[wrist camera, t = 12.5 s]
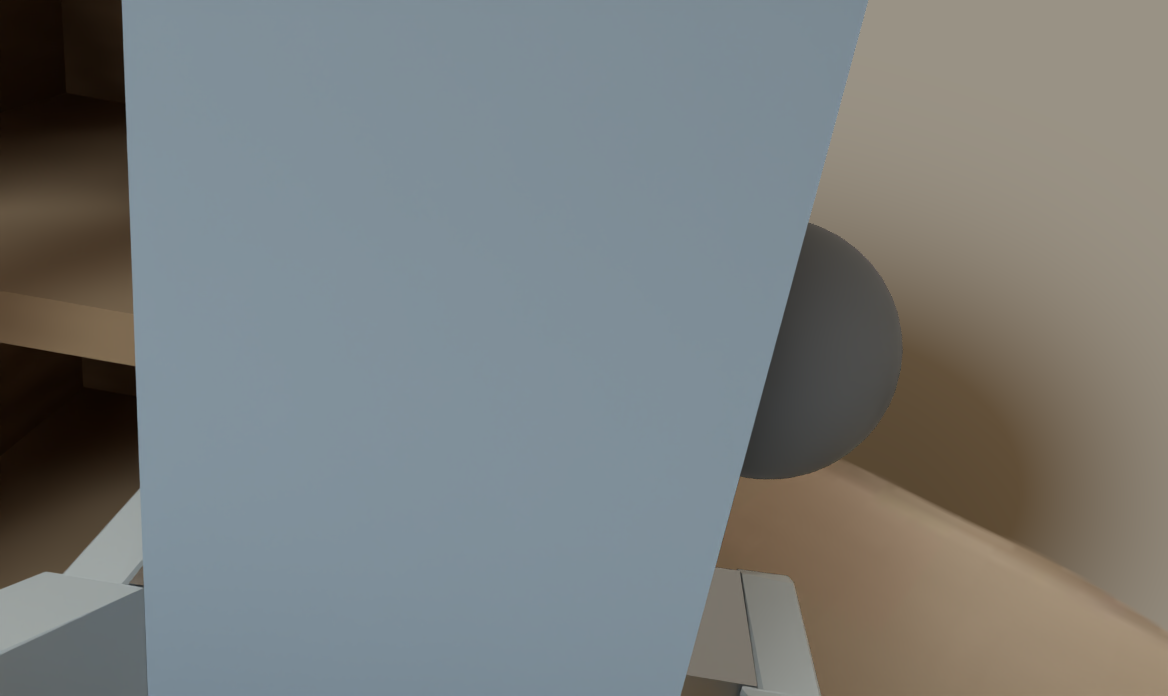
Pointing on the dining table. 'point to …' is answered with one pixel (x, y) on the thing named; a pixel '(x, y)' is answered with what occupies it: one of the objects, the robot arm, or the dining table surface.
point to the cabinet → (63, 283)
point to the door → (477, 330)
